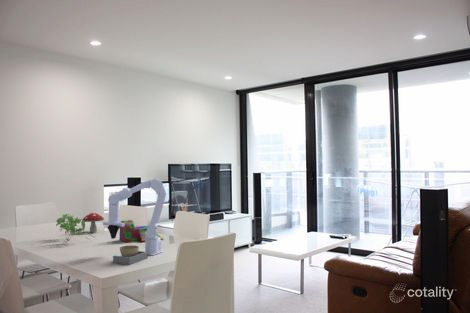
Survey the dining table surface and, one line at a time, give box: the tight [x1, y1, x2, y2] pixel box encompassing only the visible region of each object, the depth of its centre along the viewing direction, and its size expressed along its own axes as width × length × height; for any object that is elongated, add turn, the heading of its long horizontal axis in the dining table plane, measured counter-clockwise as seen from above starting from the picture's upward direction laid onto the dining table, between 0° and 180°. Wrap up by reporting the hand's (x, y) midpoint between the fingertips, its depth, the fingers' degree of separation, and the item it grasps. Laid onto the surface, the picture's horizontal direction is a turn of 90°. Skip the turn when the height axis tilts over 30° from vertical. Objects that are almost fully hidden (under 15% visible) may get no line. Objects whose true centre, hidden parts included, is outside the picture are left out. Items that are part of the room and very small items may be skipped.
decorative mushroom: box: [81, 212, 105, 233], centre depth 286 cm, size 16×16×15 cm
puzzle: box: [119, 219, 164, 244], centre depth 258 cm, size 25×17×14 cm
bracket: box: [112, 250, 148, 266], centre depth 202 cm, size 15×11×4 cm
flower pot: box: [119, 244, 140, 257], centre depth 202 cm, size 10×10×7 cm
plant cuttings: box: [55, 213, 95, 242], centre depth 253 cm, size 35×17×22 cm
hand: (113, 238), depth 214 cm, fingers closed
